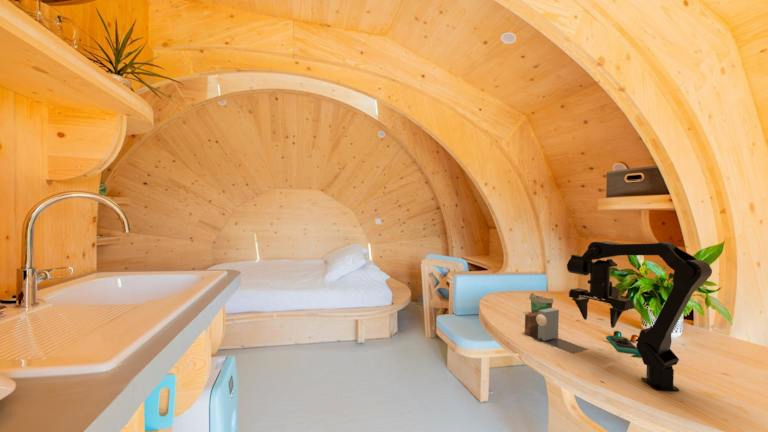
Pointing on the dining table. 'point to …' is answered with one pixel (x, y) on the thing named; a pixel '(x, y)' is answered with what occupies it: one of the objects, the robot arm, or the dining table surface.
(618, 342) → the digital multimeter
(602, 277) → the robot arm
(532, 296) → the food container
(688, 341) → the dining table surface
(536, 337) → the base
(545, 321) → the gauge carriage
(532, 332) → the brown wooden square slab
